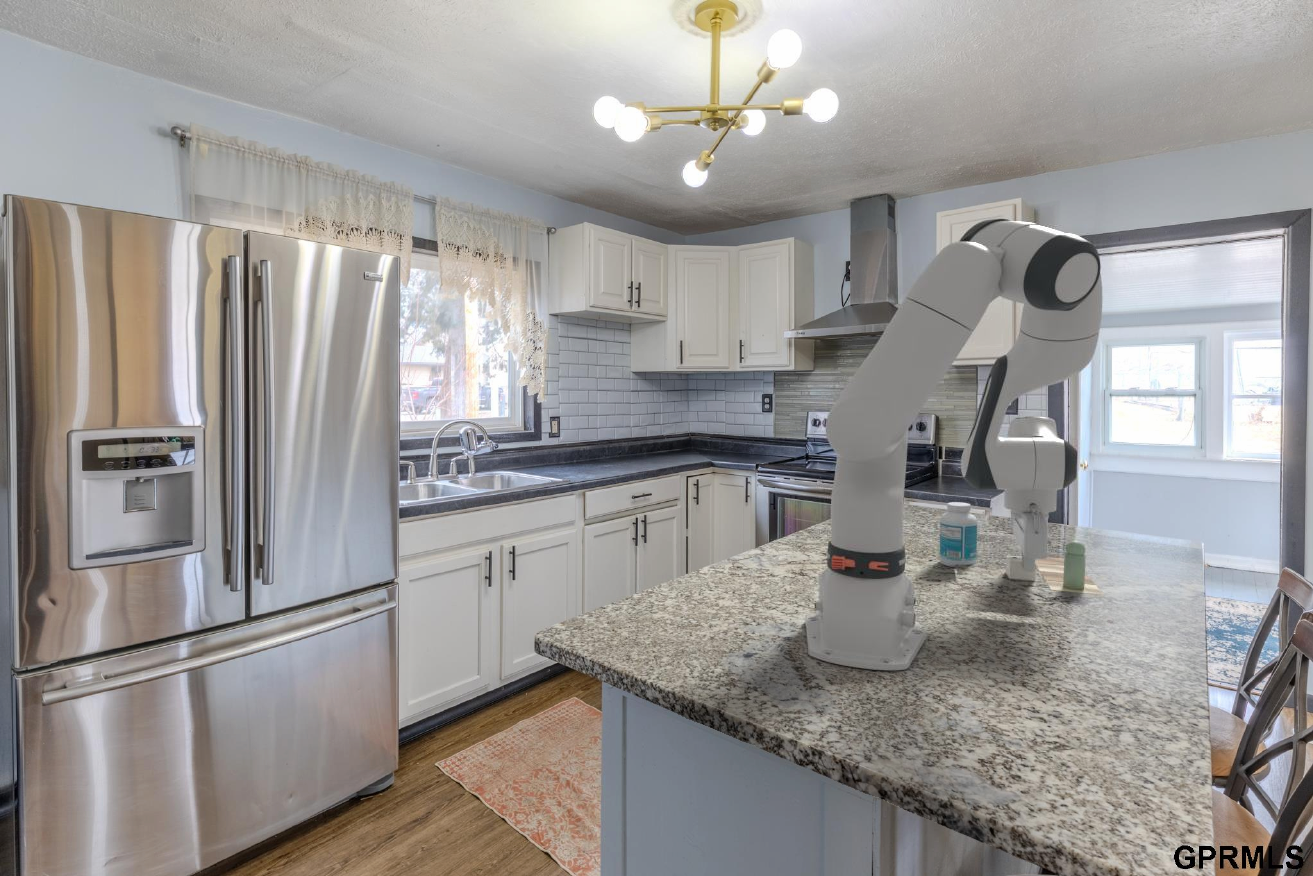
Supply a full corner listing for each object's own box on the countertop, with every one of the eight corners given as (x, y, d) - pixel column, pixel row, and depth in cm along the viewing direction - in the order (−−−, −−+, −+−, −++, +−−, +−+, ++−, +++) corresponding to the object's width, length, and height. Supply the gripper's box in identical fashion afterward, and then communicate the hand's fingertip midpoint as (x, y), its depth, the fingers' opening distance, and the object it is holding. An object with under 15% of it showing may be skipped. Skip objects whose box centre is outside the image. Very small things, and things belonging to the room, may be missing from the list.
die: (1034, 585, 130) (1035, 562, 129) (1009, 583, 131) (1010, 560, 131) (1030, 579, 134) (1031, 556, 134) (1005, 577, 135) (1006, 555, 135)
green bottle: (1086, 590, 123) (1088, 543, 122) (1065, 588, 124) (1067, 542, 124) (1082, 585, 126) (1084, 539, 126) (1061, 583, 128) (1063, 538, 127)
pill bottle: (968, 560, 148) (970, 500, 147) (981, 569, 141) (984, 507, 140) (934, 559, 149) (936, 500, 148) (945, 568, 142) (947, 506, 140)
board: (1105, 600, 121) (1105, 595, 121) (1049, 594, 124) (1049, 589, 124) (1075, 563, 145) (1075, 559, 145) (1028, 559, 148) (1028, 555, 148)
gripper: (1058, 510, 117) (1055, 587, 118) (1040, 492, 135) (1038, 558, 137) (1017, 508, 119) (1015, 583, 120) (1006, 490, 138) (1004, 555, 139)
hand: (1028, 569), depth 129 cm, fingers closed
